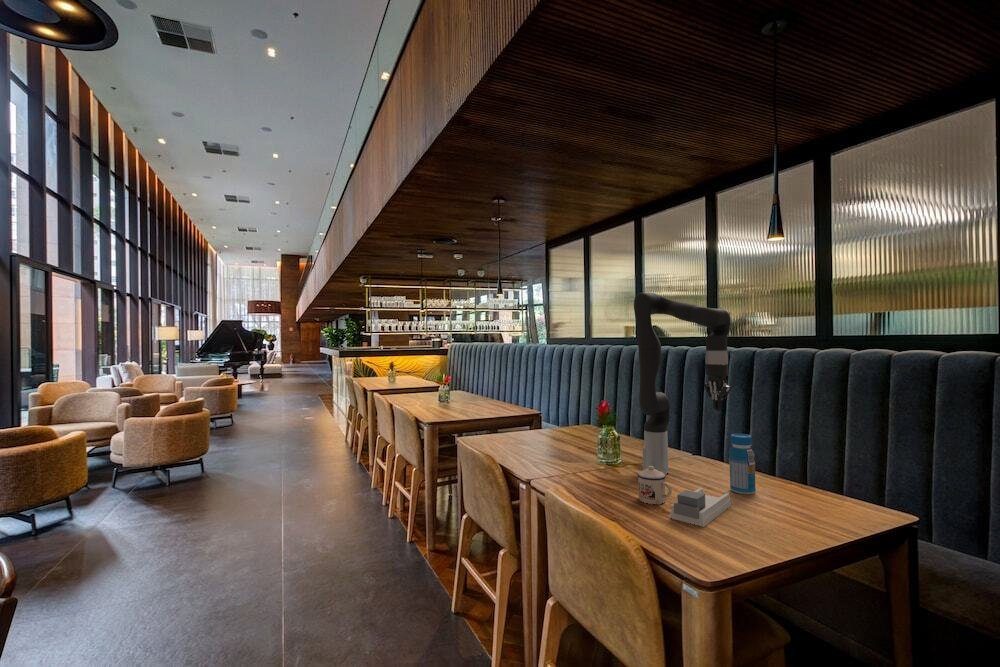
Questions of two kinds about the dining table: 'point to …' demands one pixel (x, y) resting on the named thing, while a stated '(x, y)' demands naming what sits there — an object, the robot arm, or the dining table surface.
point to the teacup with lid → (652, 486)
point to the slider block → (692, 499)
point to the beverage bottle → (742, 464)
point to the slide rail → (706, 515)
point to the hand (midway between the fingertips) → (717, 410)
